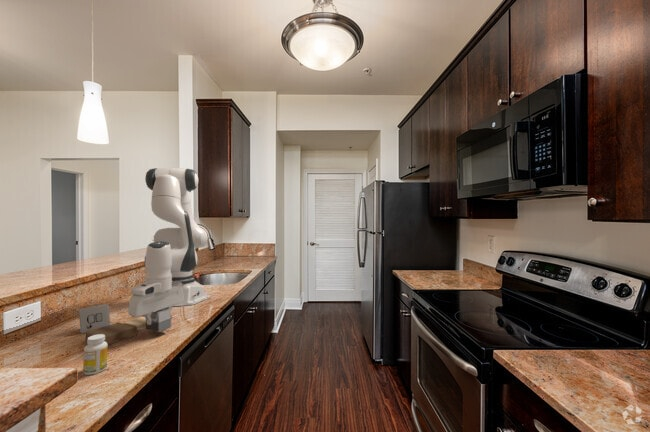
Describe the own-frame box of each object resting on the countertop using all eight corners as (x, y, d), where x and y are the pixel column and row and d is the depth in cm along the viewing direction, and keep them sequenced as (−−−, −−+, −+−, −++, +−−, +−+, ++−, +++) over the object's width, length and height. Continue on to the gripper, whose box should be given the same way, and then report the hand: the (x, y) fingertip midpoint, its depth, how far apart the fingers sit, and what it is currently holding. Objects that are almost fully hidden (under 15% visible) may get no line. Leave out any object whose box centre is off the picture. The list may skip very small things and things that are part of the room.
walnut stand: (118, 330, 112) (118, 322, 112) (136, 334, 108) (136, 326, 108) (85, 340, 102) (85, 332, 102) (104, 346, 98) (104, 337, 98)
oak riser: (143, 321, 122) (143, 316, 122) (156, 324, 119) (156, 319, 119) (123, 327, 115) (124, 322, 115) (137, 330, 112) (137, 325, 112)
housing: (157, 324, 113) (158, 306, 113) (170, 327, 110) (170, 309, 110) (145, 329, 108) (145, 310, 108) (158, 332, 106) (158, 313, 105)
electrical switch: (80, 334, 108) (80, 309, 108) (77, 332, 111) (77, 308, 111) (110, 327, 115) (110, 304, 116) (106, 325, 118) (106, 302, 119)
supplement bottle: (85, 377, 79) (86, 342, 79) (81, 370, 82) (81, 337, 82) (109, 369, 83) (110, 336, 83) (104, 363, 86) (105, 331, 86)
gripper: (176, 278, 120) (176, 311, 120) (126, 290, 101) (125, 329, 101) (187, 280, 117) (187, 313, 118) (137, 292, 99) (137, 332, 99)
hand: (158, 321), depth 109 cm, fingers closed on housing, 5 cm apart
